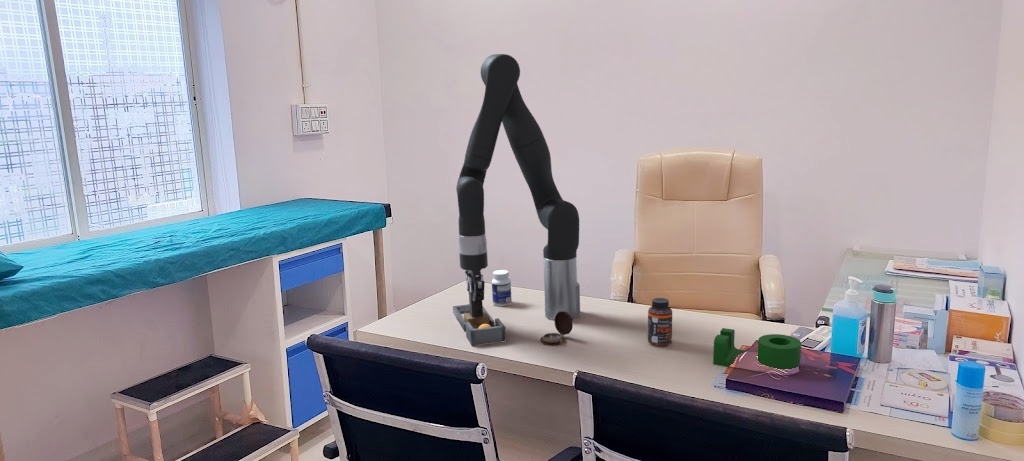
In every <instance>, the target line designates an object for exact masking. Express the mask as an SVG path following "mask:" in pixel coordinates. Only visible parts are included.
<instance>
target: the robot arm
mask: <svg viewBox="0 0 1024 461" xmlns="http://www.w3.org/2000/svg"><path fill="white" fill-rule="evenodd" d="M520 76H521V68H520V64H519V63H518V61H517V60H516V58H514V57H513V56H511V55H509V54H505V53H496V54H491V55H489V56H487V57H486V58H485V59H484V60H483V61H482V63H481V66H480V78H481V80H482V82H483V84H484V86H485V89H484V96H483V101H482V105H481V108H480V111H479V112H478V115H477V118H476V121H475V123H474V125H473V128H472V130H471V132H470V134H469V135H470V136H469V139H468V143H467V147H466V151H465V154H464V162H463V164H462V168H461V170H460V173H459V177H458V179H457V184H456V188H455V189H456V194H457V195H456V196H457V205H458V206H457V207H458V213H459V216H458V235H459V236H458V251H459V252H458V254H459V267H460V269H462V270H465V272H464V273H465V281H466V282H465V283H466V291H467V292H468V295H469V286H470V292H471V293H472V294H473V304H474V313H475V314H482V306H483V301H484V300H485V280H484V275H483V274H482V272H481V271H482V270H484V269H486V268H487V267H488V265H489V262H488V242H487V237H486V221H485V215H484V213H485V189H484V182H485V179H486V175H487V171H488V169H489V167H490V166H491V162H492V159H493V156H494V152H495V148H496V145H497V140H498V137H499V132H500V129H501V125H502V126H503V128H504V129H503V130H504V131H505V134H506V137H507V140H508V142H509V145H510V148H511V150H512V152H513V153H512V154H513V155H514V158H515V160H516V163H517V164H518V167H519V169H520V171H521V174H522V176H523V178H524V180H525V182H526V185H527V187H528V188H529V191H530V193H531V196H532V200H533V204H534V207H535V212H536V214H537V217H538V220H539V222H540V224H541V225H542V227H544V228H545V229H546V230H547V242H546V244H545V246H544V247H543V249H542V251H543V252H542V253H543V255H542V256H543V283H544V284H543V286H544V313H545V317H546V318H547V319H549V320H554V321H555V316H556V314H557V313H558V312H560V311H566V312H568V313H569V314H570V316H571V318H572V320H573V319H575V318H577V317H581V296H580V294H581V292H580V291H581V289H580V283H579V282H578V270H577V269H578V267H577V264H578V262H577V255H578V254H577V252H578V248H579V245H580V244H579V243H580V215H579V211H578V209H577V207H576V206H575V205H574V204H573V203H572V202H569V201H567V200H564V199H563V197H562V196H561V194H560V192H559V190H558V187H557V186H556V184H555V181H554V177H553V172H552V158H551V153H550V148H549V146H548V143H547V141H546V138H545V136H544V133H543V131H542V128H541V127H540V125H539V123H538V122H537V120H536V119H535V116H534V115H533V114H532V112H531V111H530V109H529V107H528V106H527V104H526V103H525V100H524V99H523V96H522V93H521V91H520V88H519V86H518V82H519V80H520ZM473 288H474V289H473ZM477 294H480V296H477Z"/></svg>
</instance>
